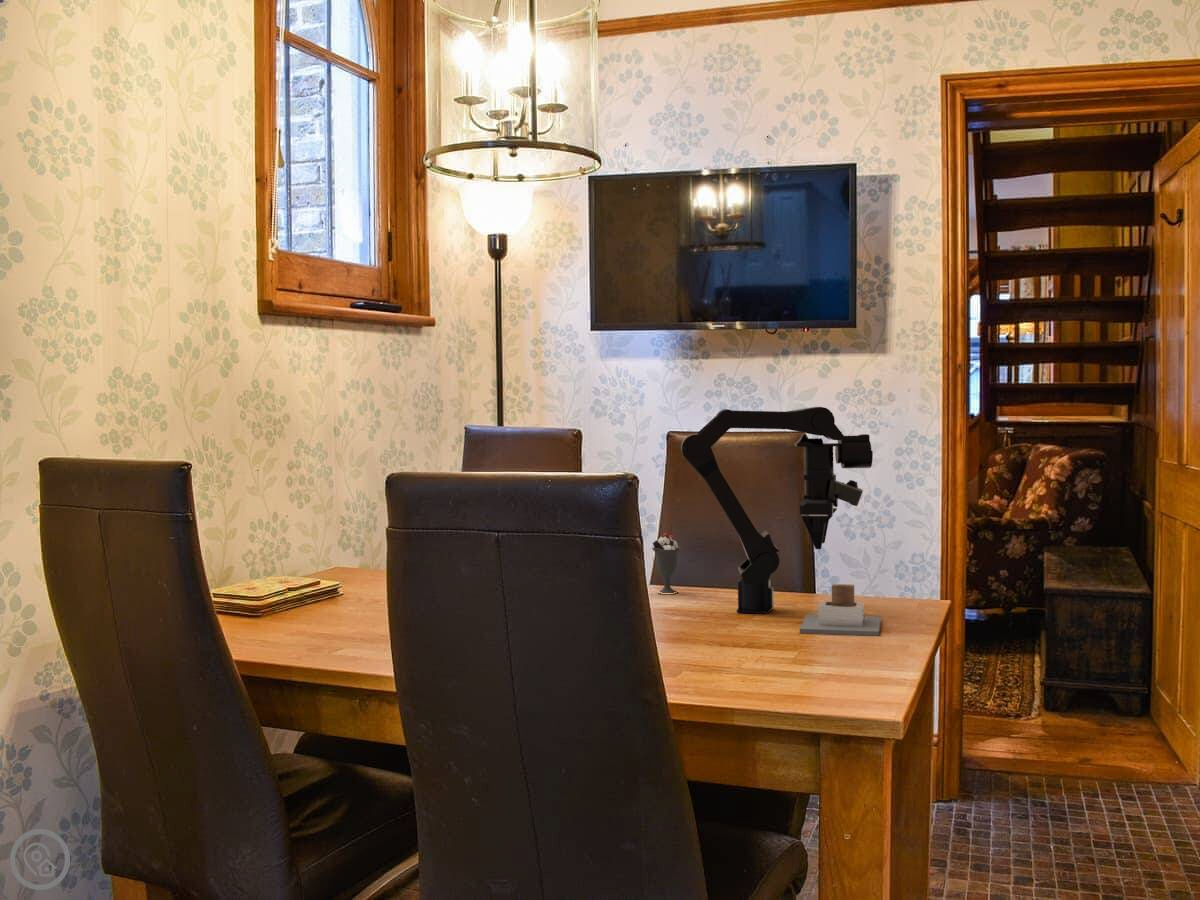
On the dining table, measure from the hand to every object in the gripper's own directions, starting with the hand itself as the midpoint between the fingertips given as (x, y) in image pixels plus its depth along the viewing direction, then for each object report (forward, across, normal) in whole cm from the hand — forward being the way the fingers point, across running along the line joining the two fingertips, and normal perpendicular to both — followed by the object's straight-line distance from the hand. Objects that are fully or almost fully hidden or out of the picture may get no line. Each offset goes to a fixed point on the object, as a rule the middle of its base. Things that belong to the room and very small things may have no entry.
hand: (820, 546), depth 222 cm
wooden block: (+12, -16, -5) cm, 21 cm away
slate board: (+13, -16, -5) cm, 21 cm away
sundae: (+13, +15, +35) cm, 40 cm away
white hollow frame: (+13, -16, -5) cm, 21 cm away
